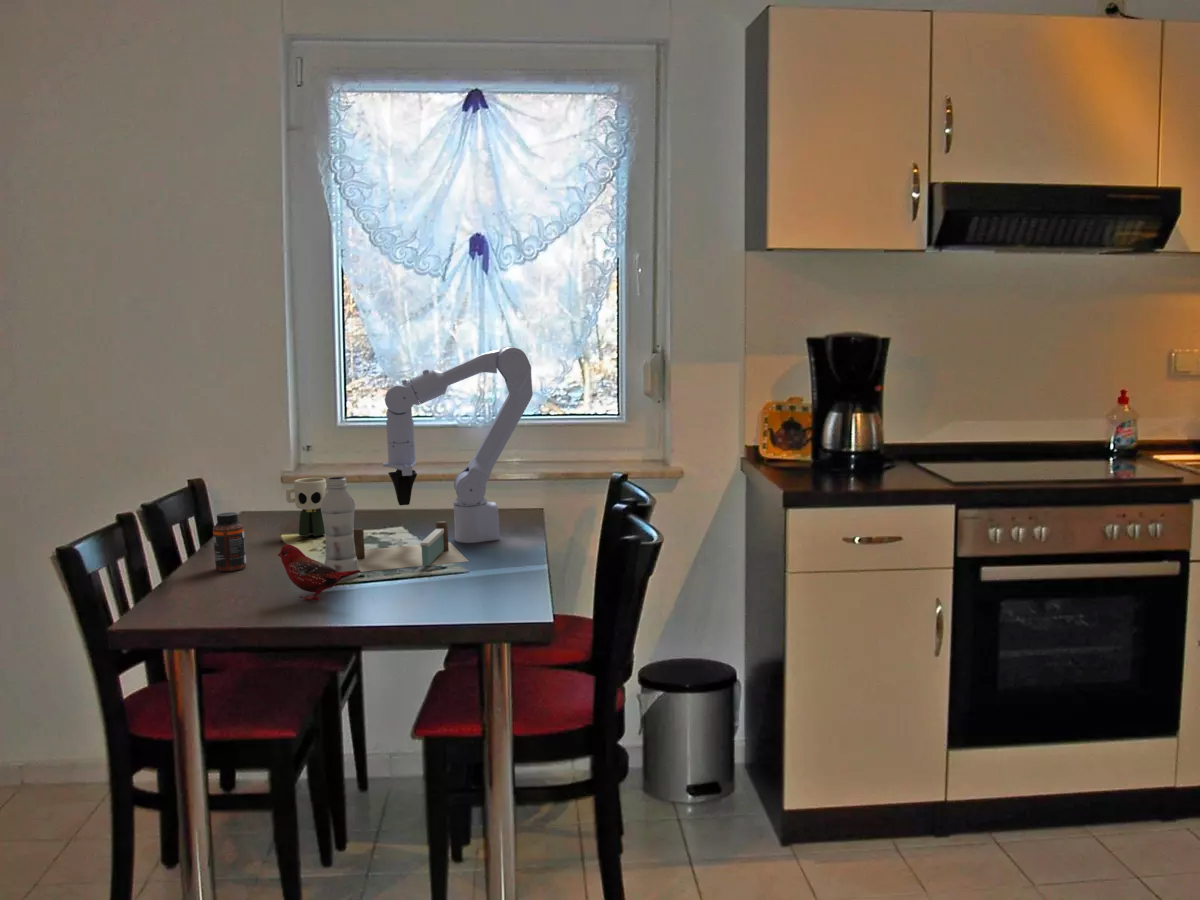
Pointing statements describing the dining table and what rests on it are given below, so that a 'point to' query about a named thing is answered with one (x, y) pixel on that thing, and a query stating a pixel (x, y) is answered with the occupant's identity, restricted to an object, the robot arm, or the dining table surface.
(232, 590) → the dining table surface
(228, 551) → the supplement bottle
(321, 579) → the decorative bird figurine
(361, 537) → the gate frame
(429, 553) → the gate
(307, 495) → the character mug
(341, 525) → the plastic bottle
